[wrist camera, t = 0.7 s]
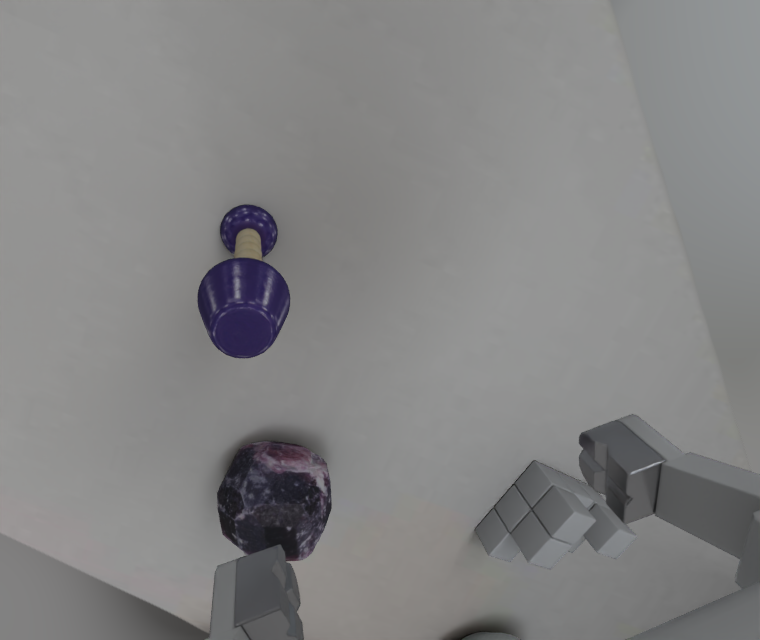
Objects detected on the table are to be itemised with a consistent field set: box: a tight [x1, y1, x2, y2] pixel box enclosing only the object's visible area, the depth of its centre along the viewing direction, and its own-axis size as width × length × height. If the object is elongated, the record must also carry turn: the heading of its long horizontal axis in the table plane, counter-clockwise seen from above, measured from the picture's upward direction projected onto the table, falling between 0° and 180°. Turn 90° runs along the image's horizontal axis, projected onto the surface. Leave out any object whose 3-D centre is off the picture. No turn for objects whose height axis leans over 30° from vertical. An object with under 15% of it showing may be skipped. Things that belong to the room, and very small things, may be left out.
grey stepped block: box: [475, 461, 637, 569], centre depth 54 cm, size 12×12×8 cm
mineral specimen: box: [217, 441, 331, 561], centre depth 41 cm, size 10×10×10 cm
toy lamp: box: [198, 205, 290, 358], centre depth 28 cm, size 5×5×17 cm
